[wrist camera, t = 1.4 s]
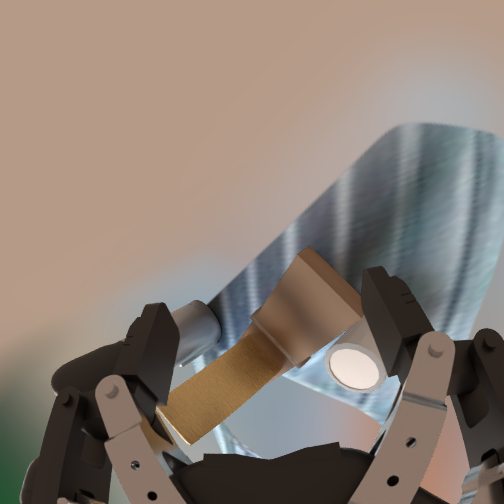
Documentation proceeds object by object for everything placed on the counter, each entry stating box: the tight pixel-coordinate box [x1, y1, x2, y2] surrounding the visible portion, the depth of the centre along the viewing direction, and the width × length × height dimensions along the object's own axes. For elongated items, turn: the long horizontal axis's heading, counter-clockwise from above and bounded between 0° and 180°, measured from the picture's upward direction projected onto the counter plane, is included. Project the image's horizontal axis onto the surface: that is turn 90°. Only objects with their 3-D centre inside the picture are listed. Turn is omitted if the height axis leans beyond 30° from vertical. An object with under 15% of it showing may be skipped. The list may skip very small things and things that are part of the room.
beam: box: [237, 246, 364, 385], centre depth 25 cm, size 20×7×2 cm, turn 152°
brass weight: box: [156, 335, 281, 445], centre depth 25 cm, size 5×5×12 cm
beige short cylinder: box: [324, 315, 387, 393], centre depth 26 cm, size 7×7×7 cm
